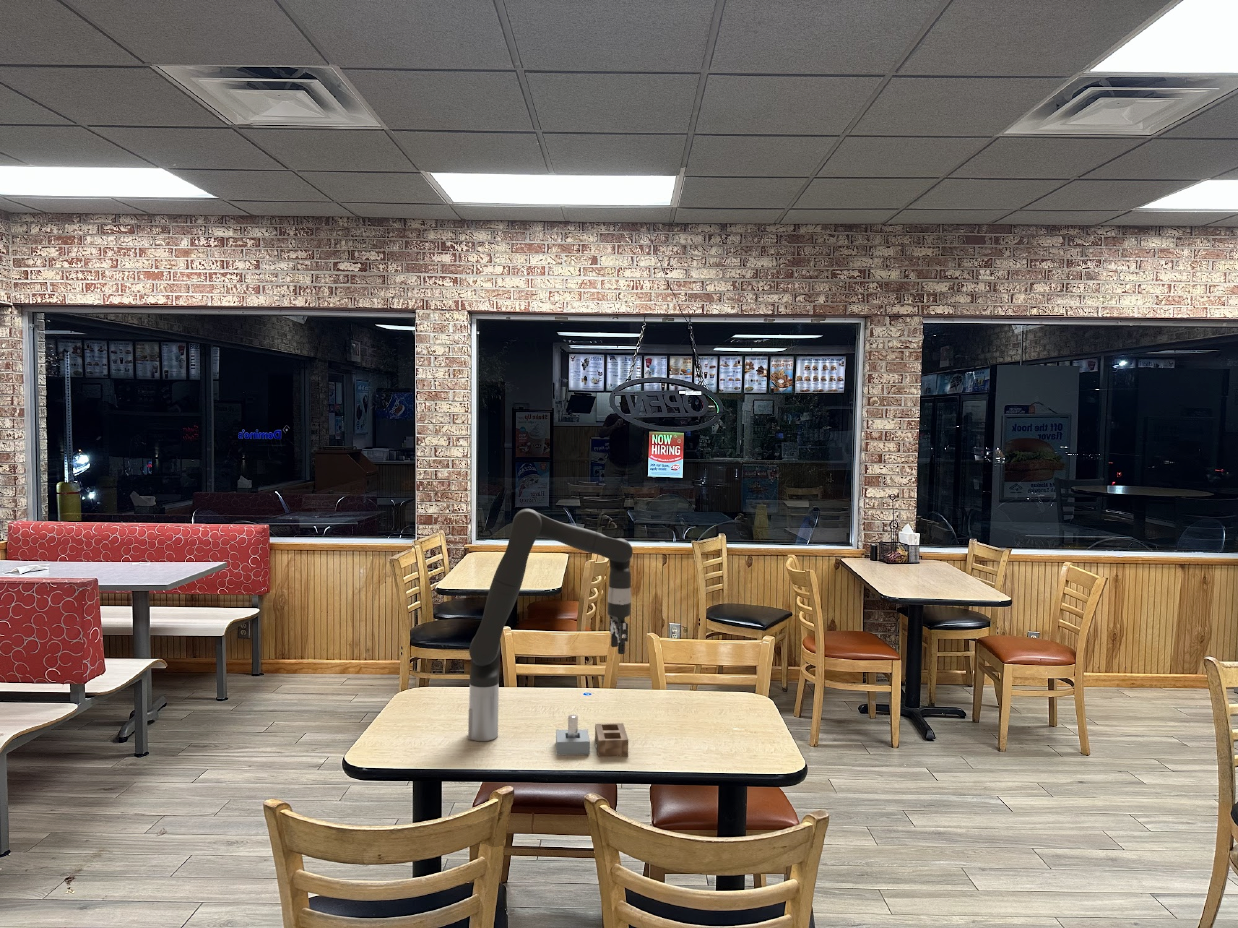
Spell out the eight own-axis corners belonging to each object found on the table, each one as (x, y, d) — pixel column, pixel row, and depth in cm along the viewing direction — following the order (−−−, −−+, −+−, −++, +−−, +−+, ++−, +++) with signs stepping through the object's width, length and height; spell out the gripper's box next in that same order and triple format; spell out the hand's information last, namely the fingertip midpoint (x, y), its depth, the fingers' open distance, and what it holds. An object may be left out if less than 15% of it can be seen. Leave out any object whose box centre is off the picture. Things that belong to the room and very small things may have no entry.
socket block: (556, 754, 238) (557, 741, 238) (555, 742, 248) (556, 729, 247) (589, 754, 239) (589, 741, 239) (587, 741, 249) (587, 729, 249)
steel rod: (567, 750, 242) (568, 718, 241) (567, 746, 244) (568, 714, 244) (577, 749, 242) (578, 717, 242) (577, 746, 245) (577, 714, 245)
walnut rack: (598, 756, 237) (598, 740, 237) (594, 739, 251) (595, 723, 251) (628, 755, 238) (628, 739, 238) (622, 738, 252) (623, 722, 252)
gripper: (602, 596, 260) (601, 645, 261) (613, 605, 247) (612, 656, 247) (624, 596, 262) (622, 644, 263) (636, 605, 249) (635, 655, 249)
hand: (617, 650), depth 255 cm, fingers open, 8 cm apart
